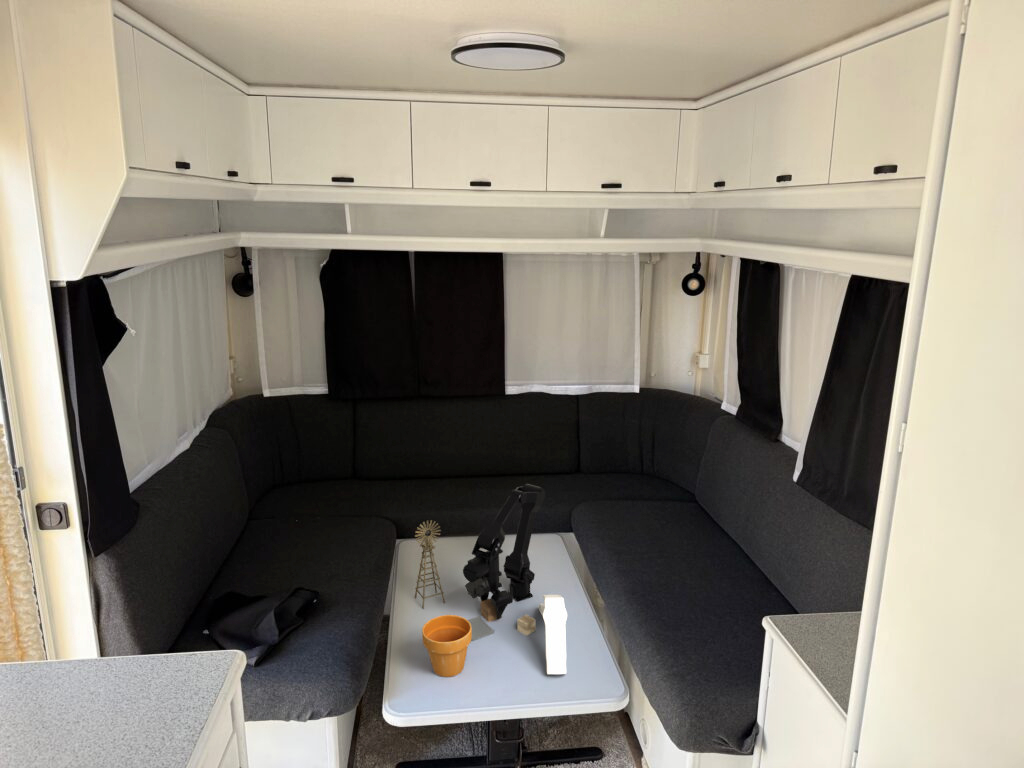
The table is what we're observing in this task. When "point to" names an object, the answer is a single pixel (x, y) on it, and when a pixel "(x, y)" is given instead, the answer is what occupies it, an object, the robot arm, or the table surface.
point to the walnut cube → (488, 610)
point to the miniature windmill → (429, 547)
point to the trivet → (479, 628)
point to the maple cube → (526, 625)
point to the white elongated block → (554, 633)
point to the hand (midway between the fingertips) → (491, 612)
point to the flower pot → (447, 643)
